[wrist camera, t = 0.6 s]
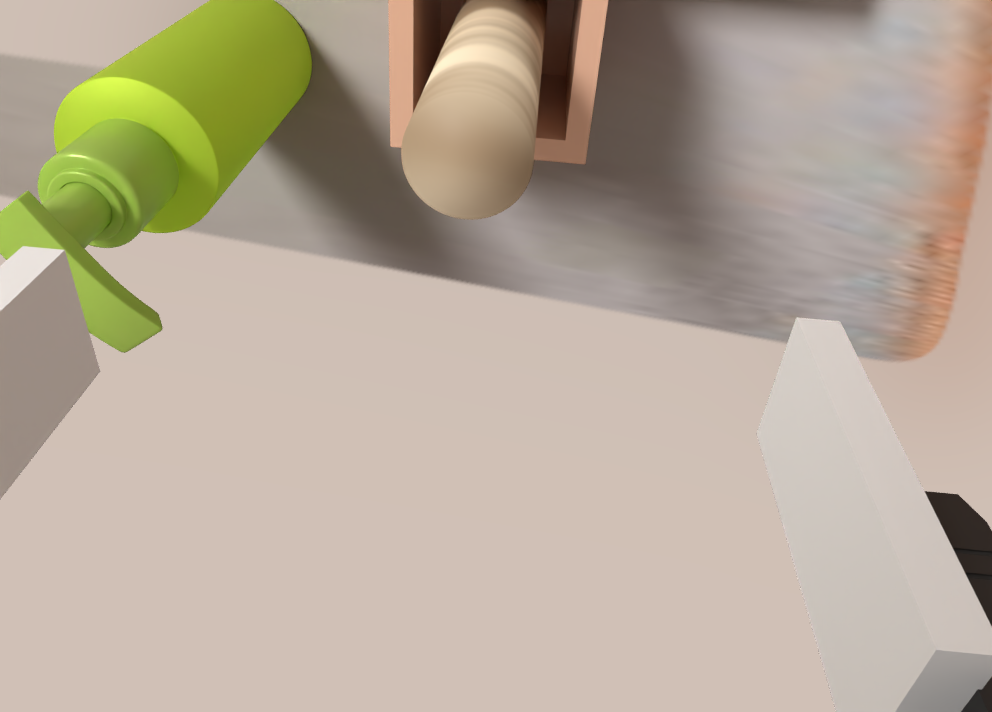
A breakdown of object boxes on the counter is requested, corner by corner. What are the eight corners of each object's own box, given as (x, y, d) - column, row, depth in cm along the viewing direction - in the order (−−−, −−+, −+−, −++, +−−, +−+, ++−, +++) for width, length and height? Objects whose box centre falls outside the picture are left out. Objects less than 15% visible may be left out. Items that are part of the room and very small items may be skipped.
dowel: (469, -45, 35) (400, 86, 21) (551, -38, 35) (540, 99, 21) (466, 40, 37) (401, 213, 23) (543, 47, 37) (527, 224, 23)
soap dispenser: (264, 151, 42) (76, 387, 26) (167, 35, 39) (-116, 223, 23) (349, 92, 40) (202, 310, 24) (254, -36, 37) (10, 116, 21)
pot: (425, -106, 34) (387, -73, 27) (605, -91, 34) (615, -53, 27) (423, 76, 39) (390, 146, 32) (582, 91, 39) (585, 164, 32)
